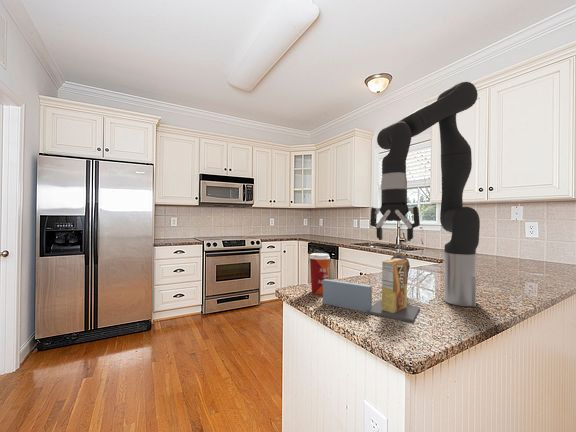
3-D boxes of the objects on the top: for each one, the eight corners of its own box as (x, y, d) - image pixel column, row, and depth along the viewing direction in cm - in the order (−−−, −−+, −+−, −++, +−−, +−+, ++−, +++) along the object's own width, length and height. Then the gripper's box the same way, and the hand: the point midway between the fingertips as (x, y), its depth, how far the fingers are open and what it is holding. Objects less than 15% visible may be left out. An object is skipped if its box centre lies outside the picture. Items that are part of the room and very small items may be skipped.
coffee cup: (324, 296, 101) (324, 256, 101) (305, 293, 105) (305, 254, 105) (333, 291, 108) (333, 253, 108) (314, 288, 112) (315, 252, 112)
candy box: (395, 304, 90) (395, 257, 90) (407, 307, 87) (407, 259, 87) (381, 310, 84) (381, 260, 84) (394, 314, 81) (394, 262, 81)
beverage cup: (388, 297, 100) (388, 243, 100) (389, 292, 106) (389, 241, 106) (410, 300, 97) (410, 244, 97) (409, 294, 104) (409, 242, 104)
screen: (371, 310, 86) (371, 285, 86) (369, 312, 84) (369, 286, 84) (325, 302, 95) (325, 279, 95) (322, 303, 93) (322, 280, 93)
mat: (419, 309, 87) (419, 307, 87) (413, 322, 76) (413, 319, 76) (378, 302, 94) (378, 300, 94) (367, 313, 84) (367, 310, 84)
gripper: (420, 188, 85) (421, 240, 85) (374, 190, 92) (374, 238, 92) (417, 186, 78) (417, 242, 78) (367, 189, 86) (368, 240, 86)
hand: (394, 240), depth 85 cm, fingers open, 8 cm apart
